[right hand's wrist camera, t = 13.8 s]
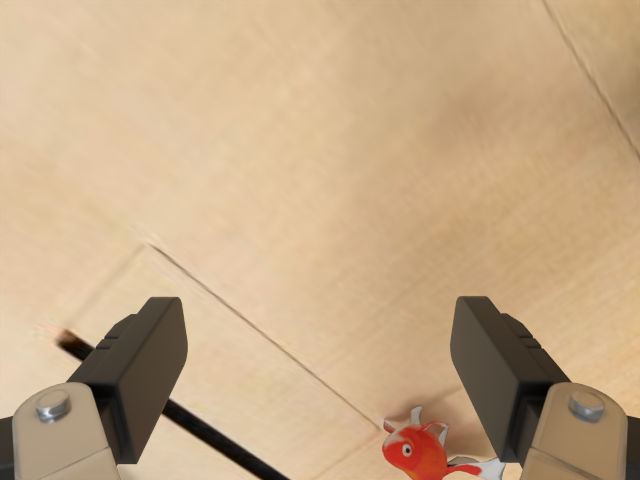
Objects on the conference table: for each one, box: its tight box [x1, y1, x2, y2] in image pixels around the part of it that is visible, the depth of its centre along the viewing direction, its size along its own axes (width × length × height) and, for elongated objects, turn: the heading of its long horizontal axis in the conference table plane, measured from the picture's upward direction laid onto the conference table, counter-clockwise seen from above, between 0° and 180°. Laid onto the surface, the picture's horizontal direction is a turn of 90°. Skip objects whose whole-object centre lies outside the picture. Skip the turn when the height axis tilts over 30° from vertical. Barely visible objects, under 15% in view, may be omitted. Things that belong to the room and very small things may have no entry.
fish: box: [382, 406, 506, 480], centre depth 40 cm, size 11×16×10 cm
